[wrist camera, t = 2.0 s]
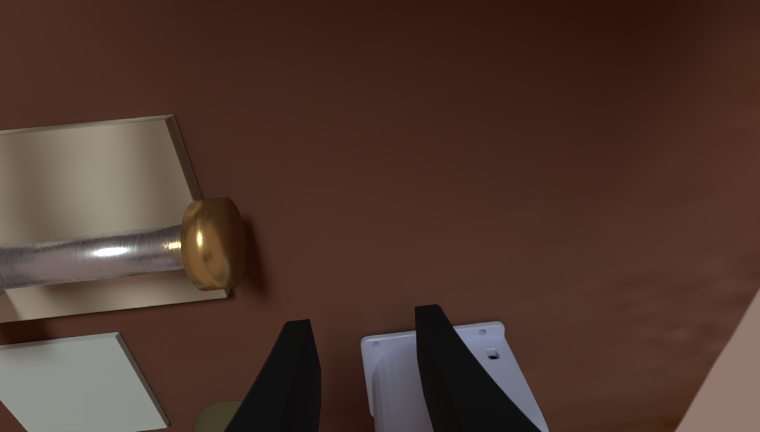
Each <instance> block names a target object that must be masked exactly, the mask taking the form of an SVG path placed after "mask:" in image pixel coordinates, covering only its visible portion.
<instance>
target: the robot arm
mask: <svg viewBox="0 0 760 432" xmlns="http://www.w3.org/2000/svg"><path fill="white" fill-rule="evenodd" d="M415 323H416V331H408V332H400V333H391V334H383V335H374V336H367V337H364V338H362V340H361V351H362V359H363V366H364V373H365V380H366V387H367V394H368V401H369V408H370V414H371V415H372V416H373V417H374V423H375V432H549V431H548V428H547V425H546V423H545V420H544V418H543V415H542V413H541V411H540V409H539V407H538V405H537V403H536V401H535V399H534V397H533V395H532V393H531V390H530V388H529V386H528V384H527V382H526V380H525V378H524V376H523V374H522V372H521V370H520V368H519V366H518V364H517V362H516V360H515V358H514V356H513V354H512V352H511V350H510V348H509V346H508V344H507V342H506V339H505V337H504V331H505V328H504V326H503V324H502V323H501V322H499V321H495V322H486V323H477V324H469V325H460V326H452V325H451V323H450V321H449V320H448V318H447V317H446V315H445V314H444V312H443V310H442V308H441V307H440V306H439V305H437V304H434V305H425V306H417V307H415ZM480 330H482V331H480ZM374 342H378V343H374ZM320 409H321V367H320V362H319V358H318V354H317V349H316V345H315V341H314V336H313V332H312V328H311V323H310V319H306V320H297V321H289V322H286V323H285V325H284V326H283V328H282V330H281V332H280V334H279V337H278V339H277V341H276V343H275V345H274V347H273V349H272V351H271V352H270V354H269V356H268V358H267V360H266V362H265V364H264V366H263V367H262V369H261V371H260V373H259V374H258V376H257V378H256V380H255V381H254V383H253V385H252V387H251V388H250V390H249V392H248V394H247V395H246V397H245V399H244V400H243V402H242V403H241V405H240V407H239V408H238V410H237V411H236V413H235V414H234V416H233V418H232V419H231V421H230V422H229V424H228V425H227V427H226V428H225V430H224V432H318V427H319V418H320Z"/></svg>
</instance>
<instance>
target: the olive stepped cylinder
mask: <svg viewBox="0 0 760 432" xmlns="http://www.w3.org/2000/svg"><path fill="white" fill-rule="evenodd" d="M242 402H243V401H225V402H219V403H216V404H213V405H211V406H208V407H207V408H205V409H204V410H203V411H201V412H200V413H199V415H198V417H197V418H196V420H195V424H194V429H193V432H224V430H225V428H226V427H227V425H228V424H229V422H230V421H231V419H232V418H233V416H234V414H235V413H236V411H237V410H238V408H239V407H240V405H241V403H242Z"/></svg>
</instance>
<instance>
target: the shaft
mask: <svg viewBox="0 0 760 432" xmlns="http://www.w3.org/2000/svg"><path fill="white" fill-rule="evenodd" d="M245 265H246V239H245V232H244V227H243V222H242V219H241V216H240V213H239V211H238V209H237V207H236V205H235V204H234V202H233V201H232V200H231V199H229V198H227V197H221V198H211V199H201V200H195V201H193V202H191V203H190V204H189V205H188V207H187V208H186V210H185V213H184V216H183V219H182V224H181V225H173V226H163V227H154V228H144V229H134V230H125V231H115V232H106V233H96V234H86V235H77V236H67V237H58V238H48V239H38V240H29V241H19V242H10V243H0V290H5V289H14V288H24V287H33V286H42V285H51V284H60V283H70V282H79V281H88V280H97V279H107V278H116V277H125V276H134V275H144V274H153V273H162V272H171V271H181V270H186V273H187V275H188V277H189V279H190V281H191V282H192V284H193V285H194V286H195V287H196V288H197V289H199V290H201V291H211V290H220V289H229V288H235V287H237V286H238V285H239V284H240V282H241V280H242V278H243V275H244V271H245Z"/></svg>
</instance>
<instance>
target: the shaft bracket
mask: <svg viewBox="0 0 760 432" xmlns="http://www.w3.org/2000/svg"><path fill="white" fill-rule="evenodd" d="M201 199H202V196H201V193H200V190H199V187H198V184H197V181H196V178H195V175H194V172H193V170H192V167H191V164H190V161H189V158H188V155H187V152H186V149H185V146H184V143H183V140H182V137H181V134H180V131H179V128H178V125H177V122H176V119H175V116H174V115H163V116H152V117H142V118H131V119H120V120H110V121H99V122H89V123H78V124H67V125H57V126H46V127H36V128H25V129H14V130H4V131H0V243H10V242H19V241H29V240H38V239H48V238H58V237H67V236H77V235H86V234H96V233H106V232H115V231H125V230H134V229H144V228H154V227H163V226H173V225H181V224H182V219H183V216H184V213H185V210H186V208H187V207H188V205H189V204H190V203H191V202H193V201H195V200H201ZM230 289H231V288H229V289H220V290H211V291H201V290H199V289H197V288H196V287H195V286H194V285H193V284H192V282H191V281H190V279H189V277H188V275H187V273H186V270H181V271H171V272H162V273H153V274H144V275H134V276H125V277H116V278H107V279H97V280H88V281H79V282H70V283H60V284H51V285H42V286H33V287H24V288H14V289H5V290H0V323H3V322H12V321H21V320H30V319H39V318H48V317H57V316H66V315H75V314H84V313H93V312H102V311H111V310H120V309H129V308H138V307H146V306H155V305H164V304H173V303H182V302H191V301H200V300H209V299H218V298H227V297H228V294H229V292H230Z"/></svg>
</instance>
